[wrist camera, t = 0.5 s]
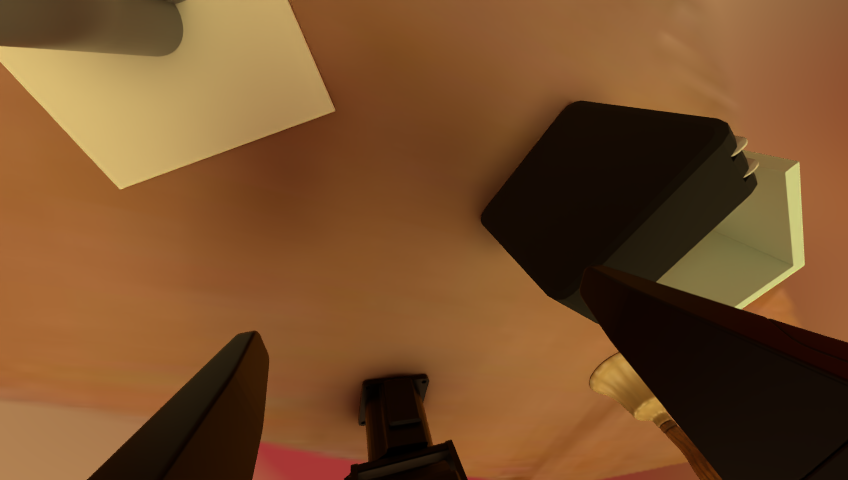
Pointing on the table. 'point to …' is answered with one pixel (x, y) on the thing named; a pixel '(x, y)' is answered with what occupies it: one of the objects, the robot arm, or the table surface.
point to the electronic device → (617, 194)
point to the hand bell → (646, 408)
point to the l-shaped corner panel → (749, 241)
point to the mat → (181, 89)
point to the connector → (93, 25)
